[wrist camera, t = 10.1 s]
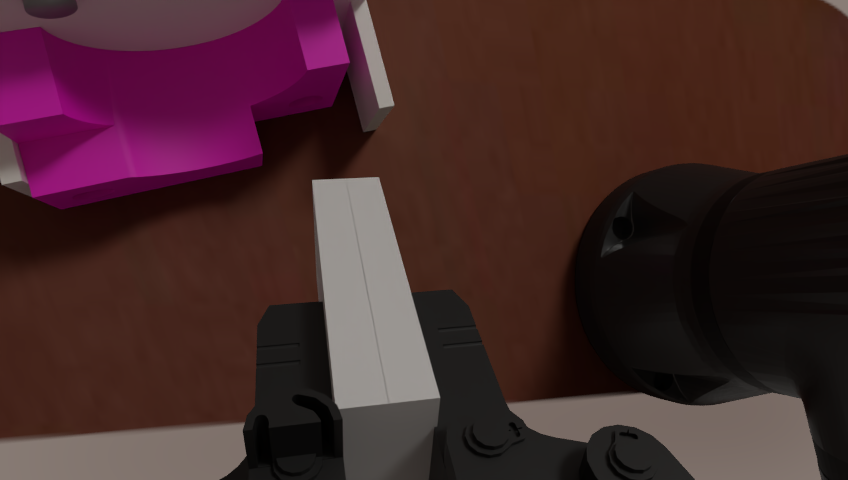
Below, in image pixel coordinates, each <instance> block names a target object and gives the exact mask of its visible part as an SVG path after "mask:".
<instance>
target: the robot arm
mask: <svg viewBox="0 0 848 480" xmlns="http://www.w3.org/2000/svg"><path fill="white" fill-rule="evenodd" d="M312 188H313V210H314V231H315V253H316V275H317V287H318V298H319V302H308V303H296V304H283V305H270V306H269V307H268V309H267V310H266V312H265V314H264V315H263V317H262V319H261V320H260V322H259V323H258V326H257V360H256V365H257V369H256V395H255V407H254V408H253V409H252V410H251V412H250V413H249V414H248V415H247V418H246V422H245V425H244V428H243V435H244V442H245V448H246V454H247V456H246V457H245V459H244V460H243V461H242V462H241V463H240V465H239V466H238V467H237V468H236V469H234V470H233V471H232V472H231V473H230V474H228V475H227V476H225V477H224V478H222V479H220V480H695V479H694V478H693V477H692V476H691V475H690V474H689V473H688V471H687V470H686V469H685V468H684V467H683V466H682V465H681V464H680V463H679V461H678V460H677V459H676V458H675V457H674V456H673V455H672V454H671V453H670V451H669V450H668V449H667V448H666V447H665V446H664V445H663V444H661V443H660V442H659V441H658V440H656V439H655V438H654V437H653V436H652V435H650V434H648V433H646V432H644V431H641V430H639V429H637V428H635V427H628V426H622V425H614V426H608V427H603V428H601V429H600V430H599V431H597V432H595V433H594V434H592V436H591V438H590V440H589V442H588V443H585V442H579V441H573V440H567V439H560V438H555V437H551V436H547V435H543V434H540V433H538V432H536V431H534V430H532V429H530V428H528V427H527V426H526V424H525V423H524V421H523V420H522V419H520V418H519V417H518V416H516V415H515V414H514V413H512V412H511V411H510V410H509V408H508V406H507V404H506V402H505V400H504V397H503V395H502V392H501V389H500V387H499V384H498V382H497V379H496V376H495V374H494V371H493V369H492V366H491V363H490V361H489V358H488V356H487V353H486V350H485V348H484V345H482V340H481V337H480V335H479V332H478V330H477V329H476V324H475V322H474V319H473V317H472V314H471V311H470V309H469V306H468V305H467V304H466V303H465V302H464V301H463V300H462V299H461V298H460V297H459V296H458V295H457V294H456V293H455V292H454V291H453V290H440V291H427V292H415V293H411V291H410V287H409V284H408V280H407V277H406V273H405V270H404V266H403V262H402V259H401V255H400V252H399V248H398V244H397V241H396V237H395V234H394V230H393V227H392V223H391V219H390V216H389V212H388V209H387V205H386V202H385V198H384V194H383V191H382V187H381V184H380V180H379V177H374V178H350V179H326V180H312ZM575 289H576V299H577V305H578V309H579V314H580V317H581V321H582V324H583V327H584V329H585V332H586V334H587V336H588V338H589V340H590V342H591V344H592V346H593V348H594V349H595V351H596V352H597V354H598V355H599V357H600V358H601V359H602V361H603V362H604V363H605V364H606V366H607V367H608V368H609V369H610V370H611V371H612V372H613V373H614V374H615V375H616V376H617V377H619V378H620V379H621V380H622V381H624V382H625V383H626V384H628V385H629V386H631V387H633V388H634V389H636V390H638V391H640V392H642V393H645V394H647V395H650V396H653V397H656V398H660V399H664V400H668V401H671V402H675V403H680V404H685V405H715V404H721V403H725V402H730V401H735V400H739V399H744V398H749V397H753V396H758V395H763V394H767V393H772V392H773V393H778V394H783V395H788V396H792V397H797V398H801V399H802V401H803V404H804V408H805V412H806V416H807V419H808V424H809V428H810V433H811V435H812V439H813V443H814V447H815V451H816V455H817V460H818V466H819V471H820V475H821V479H822V480H848V154H846V155H841V156H837V157H832V158H828V159H823V160H818V161H814V162H809V163H804V164H800V165H795V166H790V167H786V168H781V169H777V170H774V171H769V172H765V173H754V172H748V171H743V170H737V169H731V168H725V167H720V166H714V165H708V164H698V163H688V164H677V165H671V166H666V167H663V168H660V169H656V170H653V171H649V172H646V173H643V174H640V175H638V176H635V177H633V178H632V179H630V180H628V181H626V182H625V183H623V184H621V185H620V186H619V187H617V188H616V189H615V190H614V191H613V192H611V193H610V194H609V195H608V196H607V197H606V198H605V199H604V201H603V202H602V203H601V204H600V205H599V207H598V208H597V210H596V211H595V213H594V214H593V216H592V218H591V219H590V221H589V223H588V225H587V227H586V229H585V232H584V234H583V237H582V240H581V243H580V247H579V251H578V256H577V262H576V272H575Z"/></svg>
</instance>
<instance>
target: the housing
mask: <svg viewBox="0 0 848 480" xmlns="http://www.w3.org/2000/svg"><path fill="white" fill-rule="evenodd" d="M333 1H334V5H335V9H336V12H337V16H338V20H339V23H340V27H341V31H342V35H343V38H344V42H345V46H346V49H347V53H348V57H349V61H350V64H349V66H348V69H347V74H348V77H349V81H350V85H351V88H352V92H353V96H354V100H355V103H356V107H357V111H358V115H359V118H360V122H361V126H362V129H363V132H367V131H371V130H376V129H377V128H378V127H379V125H380V124H381V123H382V121H383V120H384V119H385V117H386V116H387V115H388V113H389V112H390V111H391V109H392V108H393V107H394V102H393V98H392V95H391V91H390V87H389V83H388V80H387V76H386V72H385V69H384V65H383V61H382V57H381V54H380V50H379V46H378V43H377V39H376V35H375V31H374V28H373V24H372V20H371V16H370V13H369V9H368V5H367V2H366V0H333ZM280 2H281V0H0V32H6V31H13V30H20V29H27V28H34V27H41V28H42V29H44V30H45V31H47V32H48V33H50V34H52V35H54V36H56V37H58V38H60V39H63V40H65V41H68V42H71V43H74V44H78V45H82V46H87V47H92V48H98V49H105V50H116V51H154V50H166V49H174V48H181V47H187V46H192V45H197V44H201V43H205V42H209V41H213V40H216V39H219V38H222V37H225V36H228V35H231V34H233V33H236V32H238V31H241V30H243V29H245V28H247V27H249V26H251V25H253V24H254V23H256V22H258V21H259V20H261V19H263V18H264V17H265V16H267V15H268V14H269V13H270V12H272V11H273V10H274V9H275V8H276V7H277V6H278V4H279V3H280ZM0 180H1V184H2V185H4V186H6V187H8V188H11V189H13V190H16V191H18V192H21V193H23V194H25V195H28V196H30V197H32V195H31V191H30V187H29V183H28V179H27V176H26V172H25V168H24V164H23V160H22V157H21V153H20V149H19V145H18V143H16V142H14V141H13V140H11V139H10V138H8V137H6V136H5V135H3V134H1V133H0Z"/></svg>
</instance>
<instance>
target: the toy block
mask: <svg viewBox="0 0 848 480" xmlns="http://www.w3.org/2000/svg"><path fill="white" fill-rule="evenodd" d="M349 64H350V61H349V57H348V53H347V49H346V46H345V42H344V38H343V35H342V31H341V27H340V23H339V20H338V16H337V12H336V9H335V5H334V1H333V0H281V2H280V3H279V4H278V6H277V7H276V8H275V9H274V10H273V11H272V12H270V13H269V14H268V15H267V16H265V17H264V18H263V19H261V20H259V21H258V22H256V23H254V24H253V25H251V26H249V27H247V28H245V29H243V30H241V31H238V32H236V33H233V34H231V35H228V36H225V37H222V38H219V39H216V40H213V41H209V42H205V43H201V44H197V45H192V46H187V47H181V48H174V49H166V50H154V51H116V50H105V49H98V48H92V47H87V46H82V45H78V44H74V43H71V42H68V41H65V40H63V39H60V38H58V37H56V36H54V35H52V34H50V33H48V32H47V31H45V30H44V29H42V28H41V27H34V28H27V29H20V30H13V31H6V32H0V133H1V134H3V135H5V136H6V137H8V138H10V139H11V140H13V141H14V142H16V143H18V145H19V149H20V153H21V157H22V160H23V164H24V168H25V172H26V176H27V179H28V183H29V187H30V191H31V195H32V198H34V199H37V200H39V201H42V202H44V203H47V204H49V205H51V206H54V207H56V208H59V209H66V208H70V207H75V206H79V205H84V204H89V203H93V202H98V201H102V200H107V199H112V198H116V197H121V196H125V195H130V194H135V193H139V192H144V191H149V190H153V189H158V188H162V187H167V186H172V185H176V184H181V183H185V182H190V181H195V180H199V179H204V178H208V177H213V176H218V175H222V174H227V173H231V172H236V171H241V170H245V169H250V168H254V167H259V166H262V162H263V152H262V148H261V144H260V141H259V137H258V133H257V129H256V126H255V122H256V121H261V120H266V119H271V118H276V117H281V116H286V115H291V114H297V113H302V112H307V111H312V110H317V109H322V108H327V107H332V105H333V103H334V100H335V98H336V95H337V93H338V90H339V88H340V86H341V83H342V81H343V78H344V76H345V73H346V71H347V69H348V66H349Z"/></svg>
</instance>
